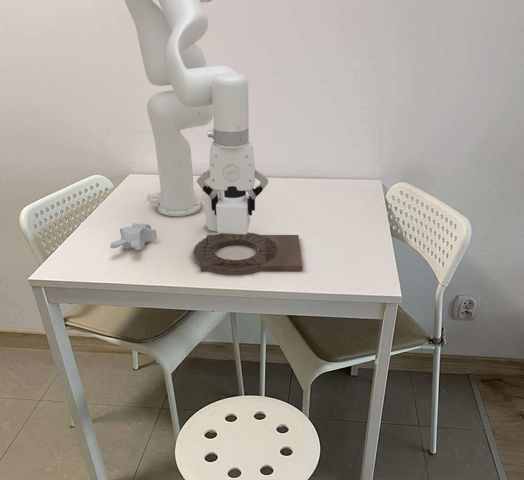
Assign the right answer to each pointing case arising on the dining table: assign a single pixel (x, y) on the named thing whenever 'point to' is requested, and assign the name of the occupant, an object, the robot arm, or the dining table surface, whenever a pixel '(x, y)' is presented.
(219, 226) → the medicine bottle
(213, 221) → the drinking glass
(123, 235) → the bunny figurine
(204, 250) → the holder board
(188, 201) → the robot arm
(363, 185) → the dining table surface
